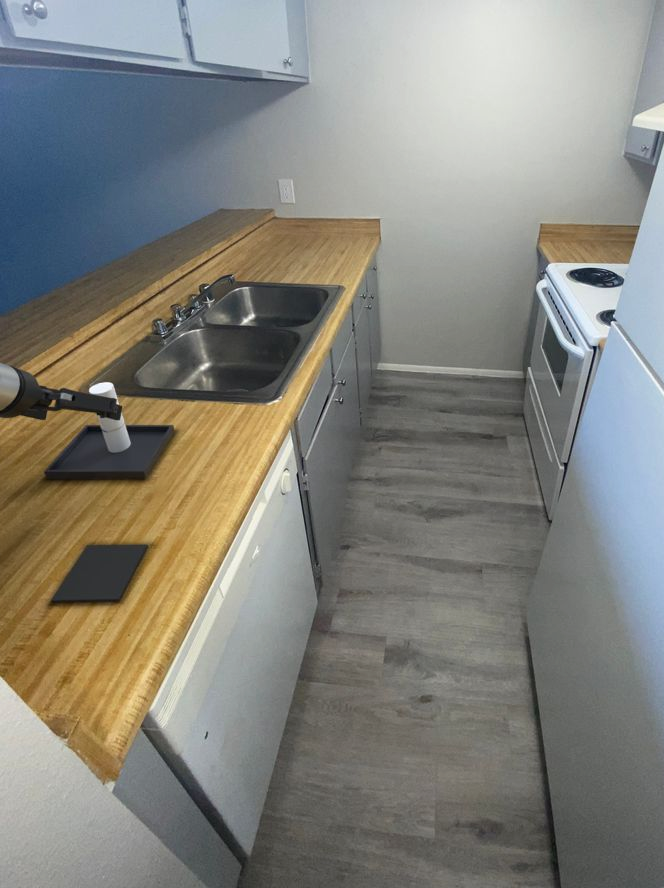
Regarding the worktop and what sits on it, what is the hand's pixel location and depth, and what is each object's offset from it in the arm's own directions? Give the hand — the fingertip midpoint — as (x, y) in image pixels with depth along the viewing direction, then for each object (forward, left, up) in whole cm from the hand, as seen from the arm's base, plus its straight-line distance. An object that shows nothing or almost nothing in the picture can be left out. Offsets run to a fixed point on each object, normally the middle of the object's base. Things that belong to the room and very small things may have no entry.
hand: (82, 413), depth 89 cm
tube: (0, +8, -14) cm, 16 cm away
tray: (0, +6, -15) cm, 16 cm away
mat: (+12, -23, -15) cm, 30 cm away
